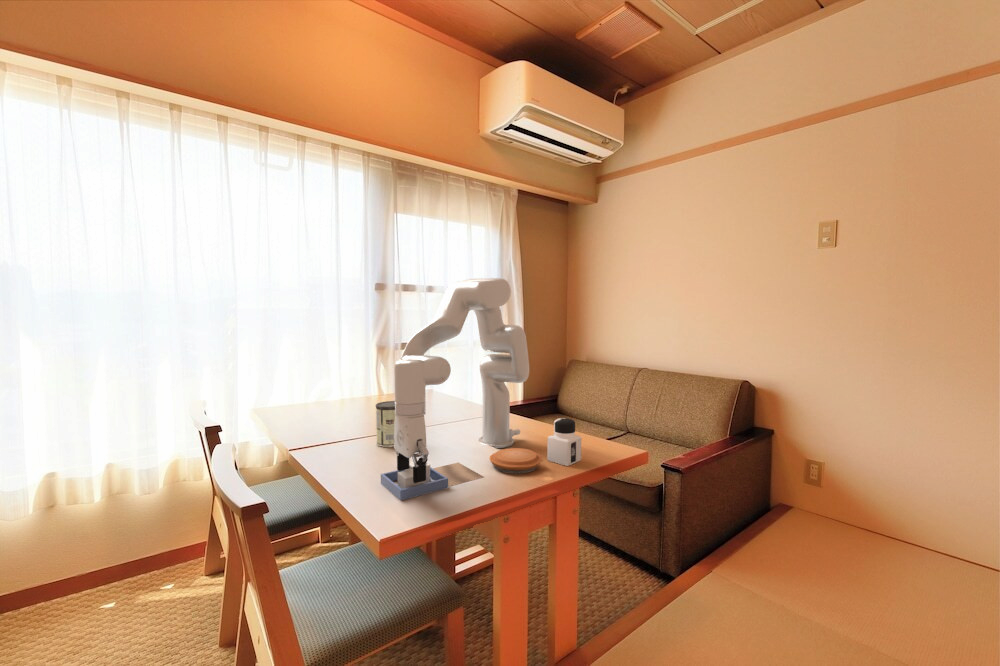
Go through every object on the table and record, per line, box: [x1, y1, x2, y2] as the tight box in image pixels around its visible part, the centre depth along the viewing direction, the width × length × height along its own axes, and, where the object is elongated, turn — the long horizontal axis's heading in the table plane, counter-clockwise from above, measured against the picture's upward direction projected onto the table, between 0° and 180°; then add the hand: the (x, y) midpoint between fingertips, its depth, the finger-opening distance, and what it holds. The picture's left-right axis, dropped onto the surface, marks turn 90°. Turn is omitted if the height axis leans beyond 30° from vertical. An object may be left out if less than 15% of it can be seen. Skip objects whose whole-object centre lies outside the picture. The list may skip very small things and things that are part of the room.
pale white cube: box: [397, 469, 424, 489], centre depth 108 cm, size 5×5×5 cm
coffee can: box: [375, 400, 395, 448], centre depth 151 cm, size 10×10×14 cm
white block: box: [405, 459, 431, 483], centre depth 115 cm, size 5×5×5 cm
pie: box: [489, 447, 543, 474], centre depth 126 cm, size 16×16×5 cm
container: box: [546, 417, 582, 467], centre depth 133 cm, size 8×8×13 cm
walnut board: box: [432, 462, 484, 487], centre depth 120 cm, size 11×14×1 cm
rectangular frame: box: [380, 466, 449, 501], centre depth 111 cm, size 13×13×4 cm
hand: (411, 475), depth 108 cm, fingers open, 9 cm apart
